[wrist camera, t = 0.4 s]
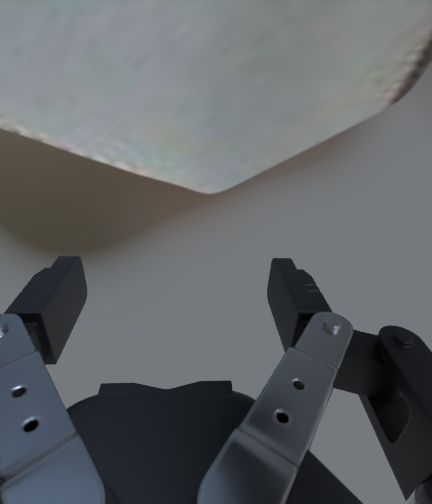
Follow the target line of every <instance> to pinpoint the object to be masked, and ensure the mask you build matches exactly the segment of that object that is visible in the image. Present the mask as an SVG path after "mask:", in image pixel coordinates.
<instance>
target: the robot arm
mask: <svg viewBox="0 0 432 504" xmlns="http://www.w3.org/2000/svg"><path fill="white" fill-rule="evenodd" d="M267 297H268V302H269V305H270V308H271V312H272V314H273V318H274V321H275V324H276V327H277V330H278V333H279V336H280V339H281V342H282V345H283V348H284V351H285V354H284V356H283V357H282V359H281V361H280V363H279V364H278V366H277V367H276V369H275V370H274V372H273V374H272V375H271V377H270V378H269V380H268V382H267V384H266V385H265V387H264V388H263V390H262V391H261V393H260V395H259V396H258V398H257V399H256V400H255V399H253V398H251V397H249V396H247V395H245V394H242V393H239V392H236V391H232V383H231V381H199V382H195V383H192V384H187V385H184V386H180V387H176V388H172V389H161V388H155V387H151V386H146V385H142V384H137V383H107V384H101V386H100V390H99V393H98V395H95V396H92V397H89V398H86V399H84V400H82V401H79V402H77V403H76V404H74V405H72V406H71V407H69V408H67V409H66V408H65V406H64V404H63V402H62V400H61V398H60V396H59V393H58V391H57V389H56V387H55V385H54V383H53V381H52V379H51V377H50V375H49V372H48V370H47V368H46V366H45V364H56V363H57V361H58V359H59V357H60V354H61V352H62V350H63V348H64V346H65V344H66V342H67V340H68V338H69V336H70V333H71V331H72V329H73V327H74V325H75V323H76V321H77V318H78V317H79V315H80V312H81V310H82V308H83V306H84V304H85V302H86V298H87V285H86V280H85V275H84V270H83V265H82V260H81V258H80V257H79V256H59V257H58V258H57V259H56V261H55V262H54V263H53V265H52V266H51V267H50V268H45V269H43V270H41V271H40V272H38V273H37V274H35V275H34V276H33V277H32V279H31V280H30V281H29V282H28V285H26V286H25V288H24V289H23V290H22V292H21V293H20V294H19V295H18V296H17V298H16V299H15V300H14V301H13V303H12V304H11V305H10V306H9V308H8V309H7V310H6V312H5V313H4V314H0V504H363V503H362V502H361V501H360V500H359V499H358V498H357V497H356V496H355V495H354V494H353V493H352V492H351V491H350V490H349V489H348V488H347V487H346V486H345V485H344V484H343V483H342V482H341V481H340V480H339V479H338V478H337V477H336V476H335V475H334V474H333V473H332V472H330V470H329V469H328V468H327V467H325V466H324V464H322V463H321V462H320V461H319V460H318V459H317V458H316V457H315V456H314V455H313V454H312V453H311V452H310V449H311V446H312V443H313V441H314V438H315V435H316V432H317V430H318V427H319V425H320V422H321V420H322V417H323V414H324V412H325V409H326V406H327V404H328V401H329V399H330V396H331V394H332V391H333V388H336V389H340V390H344V391H348V392H352V393H355V394H358V395H359V397H360V400H361V402H362V404H363V406H364V408H365V411H366V413H367V415H368V417H369V420H370V422H371V424H372V426H373V428H374V431H375V433H376V435H377V437H378V440H379V442H380V444H381V446H382V448H383V451H384V453H385V455H386V457H387V460H388V462H389V464H390V466H391V468H392V471H393V473H394V475H395V477H396V479H397V482H398V484H399V486H400V488H401V490H402V493H403V495H404V497H405V500H406V502H405V504H432V352H431V351H430V349H429V348H428V347H427V346H426V344H425V343H424V342H423V341H422V339H420V337H418V336H417V335H415V334H414V333H413V332H411V331H409V330H407V329H404V328H402V327H398V326H385V327H383V328H381V330H380V331H379V334H378V335H374V334H369V333H365V332H360V331H356V330H353V327H352V325H351V323H350V322H349V321H348V320H347V319H345V318H344V317H342V316H340V315H338V314H336V313H333V312H332V310H331V309H330V307H329V305H328V304H327V302H326V300H325V298H324V297H323V295H322V293H321V292H320V290H319V288H318V287H317V286H316V283H315V281H314V280H313V278H312V277H311V276H310V275H309V274H308V273H307V272H305V271H304V270H297V268H296V267H295V265H294V263H293V261H292V259H291V258H273V260H272V262H271V269H270V276H269V281H268V288H267Z"/></svg>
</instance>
